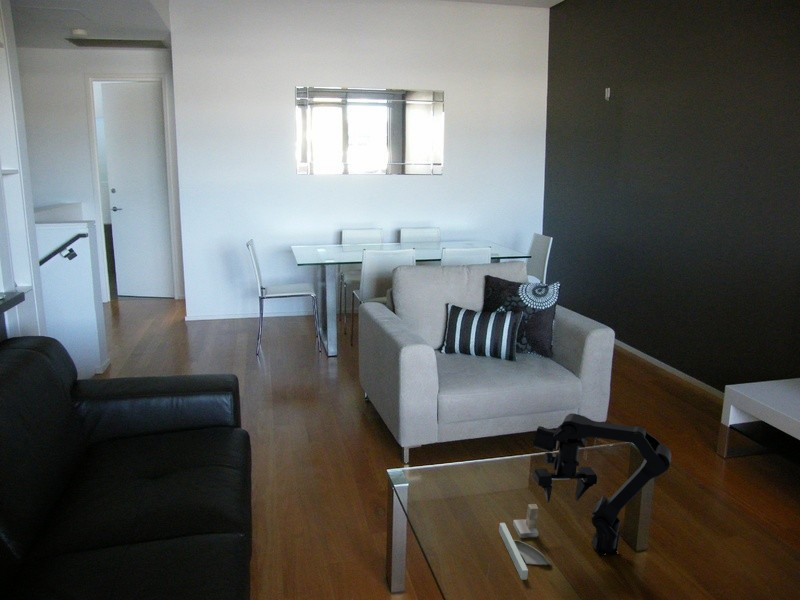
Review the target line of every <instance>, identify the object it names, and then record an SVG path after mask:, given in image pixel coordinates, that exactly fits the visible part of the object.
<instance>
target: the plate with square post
mask: <svg viewBox="0 0 800 600" xmlns="http://www.w3.org/2000/svg"><path fill="white" fill-rule="evenodd" d="M538 514H539V507H538V506H537V504H536V503H530V504H527V511H526V518H525V519H513V522H512V525H513V527H514V529H515V530H516V532H517V534H518V537H519V538H520V539H521V538H523V539H524V538H538V537H539V531H538V529H537V524H538ZM537 536H538V537H537Z"/></svg>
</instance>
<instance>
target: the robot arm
mask: <svg viewBox="0 0 800 600" xmlns="http://www.w3.org/2000/svg"><path fill="white" fill-rule="evenodd" d="M588 438H596V439H603V440H609V441H616V442H622V443H629V444H634V446H635V447H636V448H637V449H638V450H637V451H639V453H640V454H641V456H642V457H643V462H642V463H641V465H640V466H639V468H637V470H635V472H634V473H633V474H632V475H631V476H630V477H629V478H628V479H627V480H626V481H625V482H624V483H623V484H621V485H622V486H620V487H619V488H618V489H617V491H616V492H615V493H614V494H613V495H612V496H610V497H608V498H607V497H606V496H605V495H602V496H601V498H600V499H599V501H596V502H595V504H594V507H593V510H592V513H591V514H592V517H591V523H592V525H593V527H594V528H595V533H593V538H592V540H591V541H590V543H591V545H592V546H593V548H594V550H595V551H596V552H597V554H598V555H599V556H602V555H604V554H605V553H606V556H617V555H616V554H617V552H616V551H617V550H618V551H619V549H618V548H619V541H620V535H621V534H620V532H619V530H620V526H621V523H622V522H621V520H620V518H619V513H620V512H621V510H622V509H623V508H624V507H625V506H626V505H627V504H628V503H629V502H630V501H631V500H632V499H633V498H634V497H635V496H636V495H637V494H638V493H639V492H640V491H641V490H642V489H643V488H644V487H645V486H646V485H647V484H648V482H650V481H651V480H652V479H655V478H658V477H660V476H661V475H662V474H664V473H666V472H667V471H668V470H669V468H670V465H671V459H672V452H671V450H670V448H669V447H668V446H666V445H664V444H662V443H661V442H660V440H659V439H657V438H656V437H654V436H653V435H651V434H650V433H649V432H648V431H647V430H645V428H644V427H642V426H639V425H638V426H632V425H623V424H618V423H610V422H604V421H603V422H602V421H596V420H593V419H590V418H589V417H587V416H585V415H582V414H581V415H580V414H577V413H569V414H567V415H566V416H565V417H564V419H563V421H562V423H561V424H560V425H558V427H557V428H556V430H555V429H551V428H547V427H544V426H541V425H538V426H537V428H536V433H535V436H534V439H533V445H532V446H533V448H534V449H538V450H542V451H546V452H544V457H543V459H544V460H543V462H544V463H545V464H549V465H550V466H552V469H553V470H554V471H555V472H549V470H548V469H547V468H535V469H534V470H533V471H532V477H533V479H534V480H535V482H536V484H537V485H538V487H541V489H543V491H544V495H545V499H546V501H547V503H549V502H550V500H551V496H552V491H553V486H552V484H553V481H558V480H561V481H562V480H564V481H565V480H574V479H575V480H577V481H576V482H577V483H576V487H575V493H574V495H575V496H574V499H575V501H576V502H578V501H579V500H580V499H581V497H582V496H583V495H584V493H586V491H588V490H589V489H590V487H593V486H594V485H597V484H598V482H599V476H598V474H597V473H596V472H595V471H594V469H593V468H592V467H591V466H580V462H579V461H578V459H579V452H580V448H586V446H587V444H588V441H587V439H588ZM558 446H559V448H558ZM557 449H558V453H556V454H555V453H553V452H554V451H556V450H557ZM579 466H580V467H579ZM577 468H578V470H577ZM602 557H603V556H602Z"/></svg>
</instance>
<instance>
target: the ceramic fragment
mask: <svg viewBox="0 0 800 600" xmlns="http://www.w3.org/2000/svg"><path fill="white" fill-rule="evenodd" d="M513 541H514V543H515V545H516V547H517V549H518V551H519V553H520V555H521V557H522V559H523V561H524V563H525V565H530V566H547V565H550V566H549V567H553V565H552V563H551V562H550V561H549V559H548V558H547V557H546V556H545V555H544V553H542V552H541V551H540V550H538V549H536V548H535V547H534V546H532V545H530V544H528V543H526V542H523V541H521V540H518V539H513Z"/></svg>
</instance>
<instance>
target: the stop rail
mask: <svg viewBox="0 0 800 600" xmlns="http://www.w3.org/2000/svg"><path fill="white" fill-rule="evenodd" d="M498 532H499V535H500V537H501V538H502V541H503V543H504V545H505V547H506V549H507V552H508V554H509V556H510V558H511V560H512V563H513V564H514V567H515V569H516V570H517V573H518V576H519V577H520V580H523V581H524V580H527V579H528V575H529V569H528V567H527V564H526V563H525V561H524V559H523V558H522V557H521V555H520V553H519V551H518V549H517V547H516V545H515V543H514V539H513V537H512V535H511V532H510V530H509V529H508V527H507V525H506V523H505V522H500V523H499V528H498Z"/></svg>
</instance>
